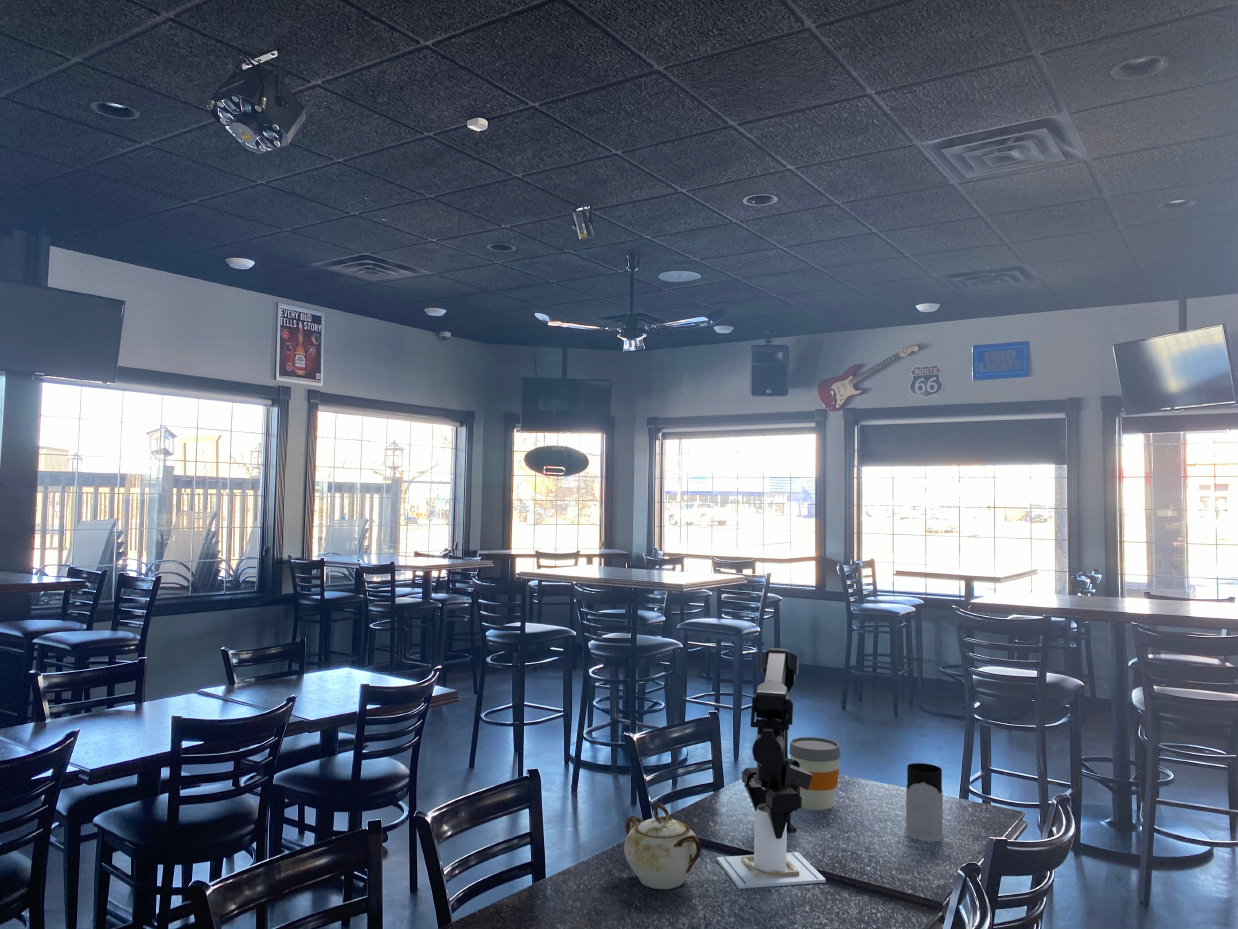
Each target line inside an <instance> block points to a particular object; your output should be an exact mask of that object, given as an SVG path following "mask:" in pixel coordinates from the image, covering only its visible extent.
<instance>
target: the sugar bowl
mask: <svg viewBox="0 0 1238 929" xmlns="http://www.w3.org/2000/svg"><path fill="white" fill-rule="evenodd" d="M658 809H660V810H661V811H662V812H663V813H664V816H663V815H661V816H660V815H659V811H658ZM653 815H654V817H653V818H649V819H646V820H643V819H642V818H639V817H637V816H635V815H630V816H628V817H627V819H626V821H625V825H624V827H625V828H624V829H625V832H626V835H627V836H626V837H625V840H624V844H623V850H624V851H623V852H624V856H625V858H626V860H627V862H628V865H629V866H630V868H631V869H632V871H633V872H634V874H635V875H636V876H637V878H638V880H639V882H640V883H641V884H642V885H643V886H645V887H648V888H650V889H656V890H671V889H675V888H678V887H680V886H682V885H683V883H684V882H685V880H686V879H687V877H688V876H689V875H690V873H691V872H692V871H693V869H694V868H695V866H696V864H697V863H698V861H699V858H700V855H701V852H702V845H701V842H700V840H699V838H698V837H697V835H696V834H695V832H694V831H693V830H692V829H691V828H690V826H689V825H687V824H686V823H685V822H682V821H681V820H680V821H679V820H676V819H673V818H671V817H670V813H669V811H668V809H667V808H666V807H665V805H664V804H663V803H661V802H658V803H656V804H655V805H654V807H653Z"/></svg>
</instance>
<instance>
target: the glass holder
mask: <svg viewBox="0 0 1238 929" xmlns="http://www.w3.org/2000/svg"><path fill="white" fill-rule="evenodd" d="M906 768H907V770H906V772H907V773H906V774H907V775H906V781H907V783H906V788H905V790H906V791H905V792H906V793H905V794H906V796H905V797H906V801H905V804H906V805H905V808H906V810H905V812H906V813H905V814H906V816H905V817H906V818H905V822H906V825H905V829H904V831H903V834H904V835H905V834H906V835H907V837H908V838H910V839H912V838H913V840H915V839H917V840H916V841H920V842H926V841H928V843H935V842H934V841H937V842H941V841H943V840H945V834H944V831H943V827H944V826H943V821H944V820H943V819H944V818H943V812H944V811H943V810H944V809H943V808H944V807H943V806H944V805H943V802H944V801H943V793H944V792H943V791H944V790H943V787H942V786H943V771H942V770H943V769H942V768H941V767H939V766H937V765H934V764H929V763H925V762H924V763H922V762H917V763H916V762H913V763H909V764H908V765H907V767H906ZM906 835H905V836H906Z"/></svg>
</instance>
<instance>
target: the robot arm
mask: <svg viewBox="0 0 1238 929" xmlns="http://www.w3.org/2000/svg"><path fill="white" fill-rule="evenodd" d="M760 672H761V674H763V682H762V683H759V685H757V686H756V691H755V694H753V695H752V702H751V712H750V713H751V716H750V728H757V729H756V736H755V739H754V742H753V745H752V748H751V749H752V756H753V761H754V762H755V763H756V767H745V769H744V770H743V771H742V772H741V782H742V783H743V784H744V788H745V790H746V792H747V795H748V797H749V800H750V802H751V804H752V807H753V809H754V812H755V813H756V811H757V806H758V805H760V804H765V803H767V805H766V808H767V811H768V815H769V818H770V821H771V825H772V828H773V831H774V834H775V837H776V839H781V838H782V835H783V832H784V829H785V826H786V823H787V832H796V831H797V830H798V829H797V828H796V826H794V825H793V823H792V813H794V812H795V811H796V812H797V811H799V809H802V797H801V796H800V787H803V789H805V790H808V789H809V786H810V783H811V780H812V777H813V775H812V774H811V773H809V772H808V771H807V770H805V769H803V768H800V763H799V762H798V761H797V760H795V759H792V758H791V757H790V758H789V756H788V755H789V750H788V749H789V748H788V747H789V741H788V740H789V738H788V737H789V730H790V725H791V726H793V722H794V720H793V719H794V718H793V717H794V703H793V701H792V698H791V697H790V696H789V693H790V691H791V690H792V688H793V686H794V684H795V683H796V676H799V657H798V655H796V654H795V653H791V652H790V650H788V649H786V648H773V647H770V648H766V651H765V652H763V653H761V654H760Z"/></svg>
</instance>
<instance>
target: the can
mask: <svg viewBox="0 0 1238 929" xmlns="http://www.w3.org/2000/svg"><path fill="white" fill-rule="evenodd" d="M766 805H767V803H765V804H760V805H758V806H757V811H756V812H755V813H754V835H753V836H754V837H753V838H754V840H753V842H754V844H753V848H754V849H753V852H754V853H753V855H754V865H755V867H756V868H757V869H758V870H759V871H761V872H778V871H784V870H785V869H786V853H787V842H788V841H787V838H788V837H787V835H788V834H787V832H788V831H787V823H786V826H785V829H784V832H783V835H782V838H781V839H776V837H775V834H774V831H773V828H772V825H771V821H770V818H769V815H768V811H767V808H766Z"/></svg>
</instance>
